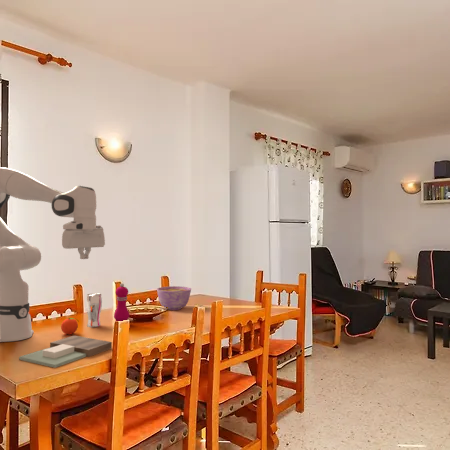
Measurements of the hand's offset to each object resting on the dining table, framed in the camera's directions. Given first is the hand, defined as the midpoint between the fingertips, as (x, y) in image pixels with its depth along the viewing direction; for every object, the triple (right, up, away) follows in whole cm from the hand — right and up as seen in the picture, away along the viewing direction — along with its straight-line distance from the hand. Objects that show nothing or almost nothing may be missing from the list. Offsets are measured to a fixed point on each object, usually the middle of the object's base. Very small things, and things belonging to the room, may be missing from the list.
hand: (84, 258), depth 171 cm
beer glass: (-4, -34, +27) cm, 44 cm away
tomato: (-10, -34, +12) cm, 38 cm away
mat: (-4, -34, -22) cm, 40 cm away
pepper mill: (+8, -34, +29) cm, 46 cm away
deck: (+2, -34, -10) cm, 35 cm away
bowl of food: (+28, -35, +71) cm, 84 cm away
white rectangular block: (-2, -33, -20) cm, 39 cm away
